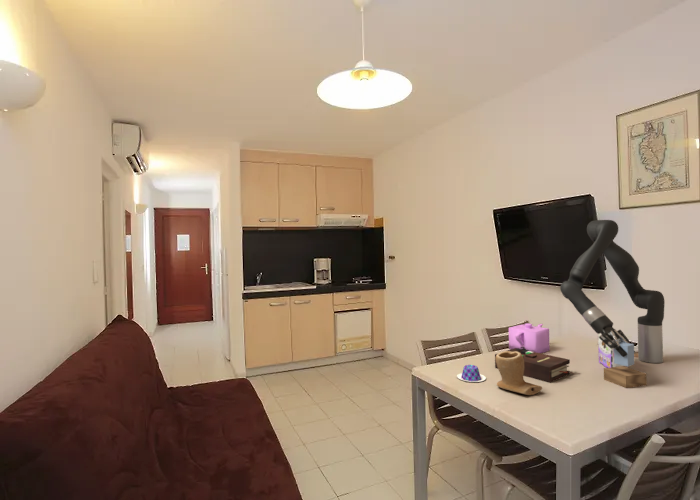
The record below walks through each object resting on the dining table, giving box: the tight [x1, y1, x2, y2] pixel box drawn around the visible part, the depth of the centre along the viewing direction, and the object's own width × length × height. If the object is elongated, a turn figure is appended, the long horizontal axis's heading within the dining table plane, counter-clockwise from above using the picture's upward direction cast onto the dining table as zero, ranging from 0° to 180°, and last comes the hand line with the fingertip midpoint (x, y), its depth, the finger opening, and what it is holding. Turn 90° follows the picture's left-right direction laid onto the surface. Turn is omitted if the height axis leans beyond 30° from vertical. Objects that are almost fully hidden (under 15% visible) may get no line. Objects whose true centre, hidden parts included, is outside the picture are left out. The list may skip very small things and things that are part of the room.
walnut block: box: [603, 366, 648, 389], centre depth 157 cm, size 10×10×5 cm
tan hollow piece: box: [496, 350, 543, 396], centre depth 152 cm, size 15×12×15 cm
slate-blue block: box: [614, 342, 635, 367], centre depth 157 cm, size 5×5×8 cm
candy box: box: [597, 333, 624, 368], centre depth 176 cm, size 14×6×16 cm, turn 168°
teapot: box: [508, 322, 550, 354], centre depth 208 cm, size 15×25×14 cm, turn 125°
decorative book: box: [494, 347, 571, 384], centre depth 174 cm, size 19×8×30 cm
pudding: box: [456, 364, 487, 383], centre depth 168 cm, size 12×12×5 cm
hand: (629, 354), depth 155 cm, fingers closed on slate-blue block, 5 cm apart
